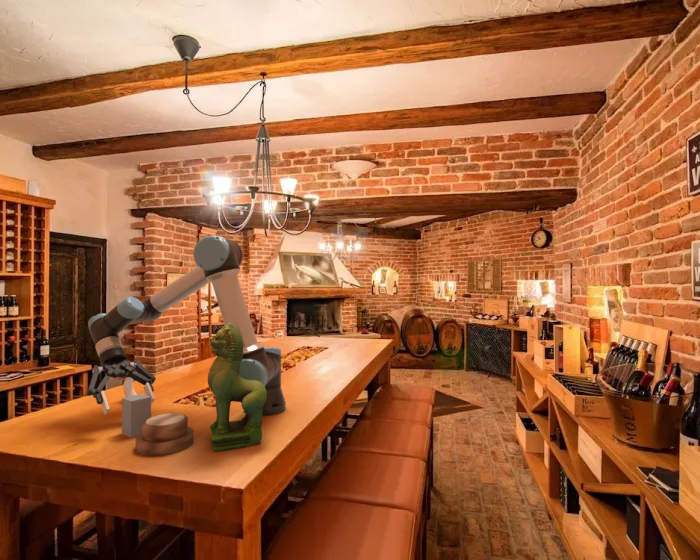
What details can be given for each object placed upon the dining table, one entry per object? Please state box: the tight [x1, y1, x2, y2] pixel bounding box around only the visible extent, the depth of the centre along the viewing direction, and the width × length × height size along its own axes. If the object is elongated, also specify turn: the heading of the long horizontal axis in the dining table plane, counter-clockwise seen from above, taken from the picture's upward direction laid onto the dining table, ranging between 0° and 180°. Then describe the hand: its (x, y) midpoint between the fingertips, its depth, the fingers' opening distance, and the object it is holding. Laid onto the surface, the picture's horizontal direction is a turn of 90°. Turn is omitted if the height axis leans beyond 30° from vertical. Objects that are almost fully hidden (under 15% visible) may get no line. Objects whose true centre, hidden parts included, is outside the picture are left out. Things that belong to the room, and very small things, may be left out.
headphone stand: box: [122, 377, 138, 397], centre depth 157 cm, size 5×6×12 cm
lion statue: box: [207, 323, 267, 452], centre depth 117 cm, size 14×17×35 cm
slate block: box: [121, 393, 152, 439], centre depth 123 cm, size 6×6×11 cm
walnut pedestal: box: [135, 413, 194, 457], centre depth 114 cm, size 15×15×7 cm
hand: (130, 406), depth 124 cm, fingers open, 13 cm apart
